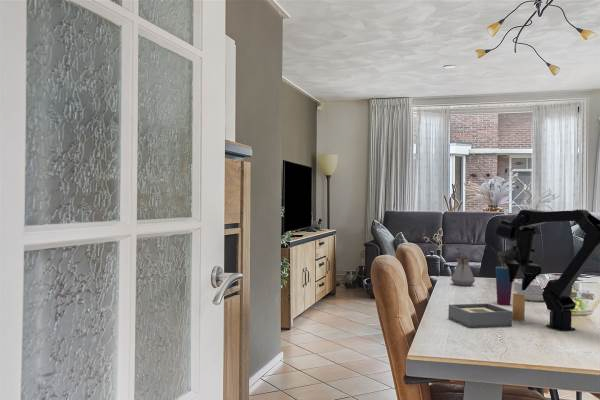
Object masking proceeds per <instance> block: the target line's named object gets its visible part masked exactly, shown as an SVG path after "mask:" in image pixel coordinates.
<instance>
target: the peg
mask: <svg viewBox="0 0 600 400" xmlns="http://www.w3.org/2000/svg"><path fill="white" fill-rule="evenodd" d="M525 302H526V300H525V295H524V294H518V293H516V292H514V293H512V321H513V320H514V321H519V322H520V321H521V322H523V321H525V312H526V311H525V310H526V309H525V308H526V307H525V306H526V303H525Z"/></svg>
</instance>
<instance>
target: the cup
mask: <svg viewBox="0 0 600 400" xmlns="http://www.w3.org/2000/svg"><path fill="white" fill-rule="evenodd" d="M495 281H496V283H495V284H496V303H497V305H500V306H511V300H512V289H513V287H512V286H513V282H512V283H511V282H509V277H508V270H507V267H506V266H495Z"/></svg>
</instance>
